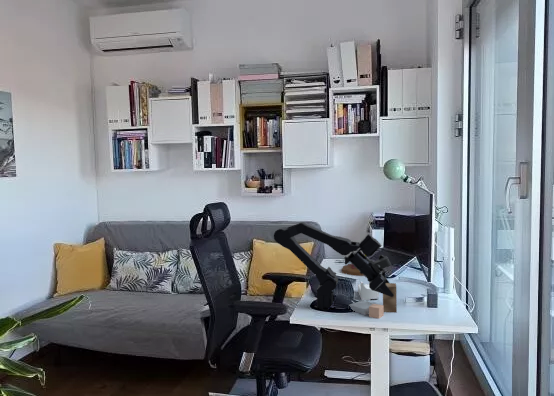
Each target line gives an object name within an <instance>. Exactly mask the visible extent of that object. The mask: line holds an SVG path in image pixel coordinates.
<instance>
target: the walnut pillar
mask: <svg viewBox="0 0 554 396" xmlns="http://www.w3.org/2000/svg"><path fill="white" fill-rule="evenodd" d="M386 285H387V286H388V288H389V289H390V290H391V292H392V293H393V294H394V296H393V297H390V296H388V295H385V294H382V305H384V313H394V314H395V313H398V312H397V310H398V309H397V308H398V307H397V305H398V304H397V284H396V283H394V282H393V283H391V282H389V283H386Z"/></svg>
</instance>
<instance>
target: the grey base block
mask: <svg viewBox="0 0 554 396" xmlns="http://www.w3.org/2000/svg"><path fill="white" fill-rule="evenodd" d="M372 304H375V303H373V302H370V301H367V300H360V301H355V302H353V303H351V304H348V307H349V306H350V307H351V309H352V310H353V311H352V312H354V311H355V313H358V314H362V315H369V306H371V305H372Z"/></svg>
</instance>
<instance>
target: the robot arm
mask: <svg viewBox="0 0 554 396" xmlns="http://www.w3.org/2000/svg"><path fill="white" fill-rule="evenodd" d="M300 234H302V235H305V236H307V237H308V238H311V239H314V240H316V241H318V242H320V243H323V244H325V245H327V246H328V247H330V248H331V249H332V250H334V251H335V252H336V253H338V254H340V255H341V256H344V258H343V259H344V266H345V265H348V264H349V263H350V264H351V263H352V264H353V265H354V266H355V267H356V268H357V269H358V270H359V271H360V273H361V274H363V275H364V276H363V277H365V278H366V279H367V281H368V284H369V288H370V289H371V290H372V291H377V292H379V293H380V294H382V295H383V294H385V295H388V296H390V297H393V296H394V294H393V293H392V292H391V290H390V289H389V288H388V286H387V285H386V283H390V281H389V280H388V278H387V276H386V270H385V268H389V267H391V266H392V263H391V261H390V259H389V257H388V256H387V255H383V254H380V255H378V259H376V260H375V261H374V260H372V259H369V258H368V257H372V256H374V254H375V253H376V252H377V251H378V250H379V249H380V248H382V244H381V242H379V240H377V239H376V238H374V237H373V236H372V235H370V234H369V233H367V234H366V236H365V237H364V238H363V239H362V240H360V242H358V241H351V239H349V238H347V237H342V236H338V235H333V234H330V233H327V232H325V231H323V230H321V229H318V228H316V227H314V226H312V225H310V224H308V223H306V222H303V221H301V222H298V223H297V224H294V225H290V226H288V227H285V226H281V227H279V228H278V229H277V230H275V232H274V233H273V239H274V242H276V243H277V244H279V245H280V246H282V247H283V248H285V249H288V250H289V251H290V252H291V253H292V254H293V255H294V256H295V257H296V258H297V259H298V260H299V261H300V262H302V263H303V264H304V266H305V267H307V268H308V270H309V271H310V272H311V273H313V275H315V277H316V279H317V281H318V283H319V284H318V286H317V288H316V305H317V306H316V305H314V308H315V309H318V308H319V310H321V311H324V312H327V311H330V310H329V309H328V308H329V307H330V306H331V305H332V303H333V301H334V302H335V294H334V291H335V289H336V288H337V285H338V283H339V278H338V276H337V273H336V272H335V271H333V270H332V268H331V266H328V267H326V268H325V267H324V266H322V265H321V264H320V263H319V262H318V261H317V260H316V259H315V258H314V257H313V255H311V254H310V253H309V252H308V251H307V250H305V248H304V247H303V246H302V245H301V244H300V243H298V241H297V239H296V238H295V237H296V236H297V235H300ZM360 251H361V252H362V253H361V252H360ZM363 253H364V254H365V255H366V256H365V255H364V254H363ZM347 255H348V256H347Z"/></svg>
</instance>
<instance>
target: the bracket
mask: <svg viewBox="0 0 554 396" xmlns="http://www.w3.org/2000/svg"><path fill="white" fill-rule="evenodd" d="M357 292H358V295H359V298H360V301H371V299H372V300H373V299H374V300H377V299H379V296H380V295H379V292H377V291H372V290H371V289H370V288H369V283H368V284H367V283H365V284H364V281H360V284H357Z"/></svg>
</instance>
